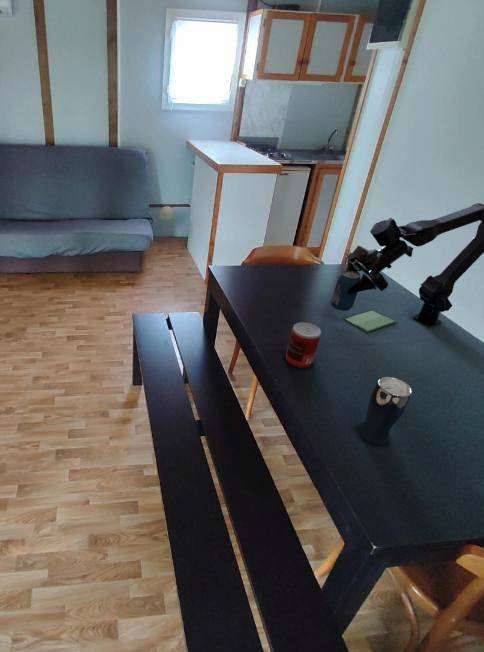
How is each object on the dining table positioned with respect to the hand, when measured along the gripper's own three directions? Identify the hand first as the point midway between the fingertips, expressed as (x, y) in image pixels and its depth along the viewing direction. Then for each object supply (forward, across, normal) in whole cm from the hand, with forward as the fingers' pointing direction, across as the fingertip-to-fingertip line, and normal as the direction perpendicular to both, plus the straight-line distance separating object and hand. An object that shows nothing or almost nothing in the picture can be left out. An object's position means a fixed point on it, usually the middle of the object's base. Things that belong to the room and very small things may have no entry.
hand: (342, 287), depth 134 cm
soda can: (+4, 0, +6) cm, 7 cm away
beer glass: (+18, +52, 0) cm, 55 cm away
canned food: (+23, +22, -5) cm, 33 cm away
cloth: (0, 0, +18) cm, 18 cm away
